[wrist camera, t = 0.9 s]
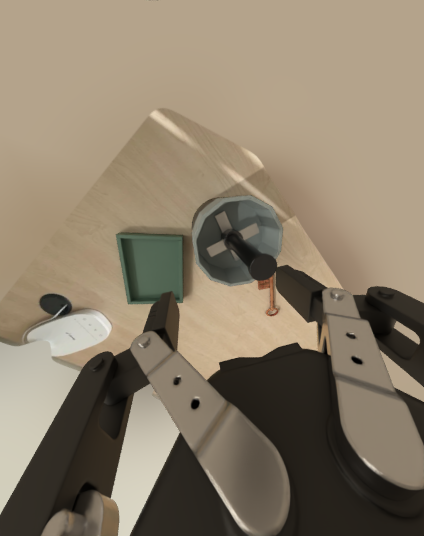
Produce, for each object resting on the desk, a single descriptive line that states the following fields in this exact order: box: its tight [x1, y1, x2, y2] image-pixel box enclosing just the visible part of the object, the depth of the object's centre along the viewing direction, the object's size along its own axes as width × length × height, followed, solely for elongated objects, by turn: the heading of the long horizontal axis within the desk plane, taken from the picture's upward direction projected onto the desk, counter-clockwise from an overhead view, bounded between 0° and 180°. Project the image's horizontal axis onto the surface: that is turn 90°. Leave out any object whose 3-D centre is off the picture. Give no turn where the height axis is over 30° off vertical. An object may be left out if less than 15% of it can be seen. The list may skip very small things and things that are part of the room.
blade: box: [206, 211, 277, 281], centre depth 22 cm, size 9×9×14 cm
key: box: [258, 276, 278, 316], centre depth 46 cm, size 6×1×15 cm
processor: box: [192, 195, 283, 286], centre depth 30 cm, size 13×13×16 cm
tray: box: [116, 233, 183, 304], centre depth 38 cm, size 18×14×2 cm
